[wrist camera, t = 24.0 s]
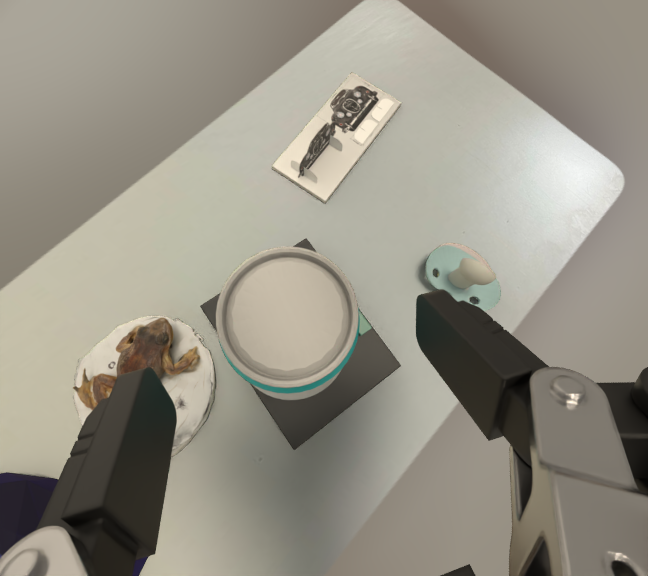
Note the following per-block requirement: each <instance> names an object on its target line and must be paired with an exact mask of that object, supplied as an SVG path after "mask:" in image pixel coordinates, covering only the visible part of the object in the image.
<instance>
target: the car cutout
mask: <svg viewBox="0 0 648 576" xmlns="http://www.w3.org/2000/svg"><path fill="white" fill-rule="evenodd" d="M401 103H402V102H400V101H398V100H397V99H395V98H394V97H392V96H390V95H389V94H387V93H385V92H384V91H382V90H380V89H379V88H377V87H376V86H374V85H372V84H371V83H369V82H367V81H366V80H364V79H363V78H361V77H359V76H358V75H356V74H354V73H353V72H351V73H350V75H349V76H348V77H347V78H346V79H345V81H344V82H343V83H342V84H341V85H340V86H339V88H338V89H337V90H336V91H335V92H334V93H333V95H332V96H331V97H330V98H329V99H328V100H327V102H326V103H325V104H324V105H323V106H322V107H321V109H320V110H319V111H318V112H317V113H316V114H315V116H314V117H313V118H312V119H311V120H310V121H309V123H308V124H307V125H306V126H305V127H304V128H303V130H302V131H301V132H300V133H299V134H298V136H297V137H296V138H295V139H294V140H293V141H292V143H291V144H290V145H289V146H288V147H287V148H286V150H285V151H284V152H283V153H282V154H281V155H280V157H279V158H278V159H277V160H276V161H275V162H274V164H273V165H272V169H273V170H275V171H277V172H278V173H280V174H281V175H283V176H284V177H286V178H287V179H289V180H290V181H292V182H293V183H295V184H296V185H298V186H299V187H301V188H302V189H304V190H305V191H307V192H308V193H310V194H312V195H313V196H315V197H316V198H318V199H319V200H321V201H322V202H324V203H326V202H327V201H328V199H329V198H330V197H331V195H332V194H333V193H334V192H335V190H336V189H337V188H338V186H339V185H340V184H341V182H342V181H343V180H344V179H345V177H346V176H347V175H348V173H349V172H350V171H351V169H352V168H353V167H354V166H355V164H356V163H357V162H358V160H359V159H360V158H361V156H362V155H363V154H364V153H365V151H366V150H367V149H368V147H369V146H370V145H371V143H372V142H373V141H374V140H375V138H376V137H377V136H378V134H379V133H380V132H381V130H382V129H383V128H384V127H385V125H386V124H387V123H388V121H389V120H390V119H391V117H392V116H393V115H394V114H395V112H396V111H397V110H398V108H399V107H400V106H401Z"/></svg>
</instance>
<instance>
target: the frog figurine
mask: <svg viewBox="0 0 648 576" xmlns="http://www.w3.org/2000/svg"><path fill="white" fill-rule="evenodd" d="M194 334H197V333H195V332H193V328H191V327H190V326H188V325H186V324H184V323H183V322H182V321H181V320H179V319H175V321H173V320H172V319H170V318H168V317H165V316H145V317H142V318H139V319H138V318H137V319H135V320H132V321H131V322H128V323H125V324H123V325H120V326H117V327H116V328H115V329H114V330H113V331H112V332H111V333H110V334H109V335H108V336H107V337H106V338H105V339H104V340H102V341H101V342H99V343H97V344H96V345H95V346H94V348H93V349H92V350H91V351H90V352H89V353H88V354H86V355H85V356H84V357H82V358H81V359H79V360H78V366H77V368H76V373H75V378H74V380H75V386H74V387H73V389H75V391H74V395H73V399H74V404H75V407H76V410H77V411H78V414H79V419H80V421H81V425H82V426H83V424H84V422H85V420H86V418H87V416H88V415H89V414H90V413H91V412H92V410H93V409H94V408H95V407H96V406H97V404H98V403H99V402H100V401H101V400H102V399H105V398H109V396H110V393H111V391H112V388H113V386H114V383H115V381H116V379H117V377H118V376H119V375H121V374H125V373H129V372H132V371H136V370H140V369H143V368H147V367H150V368H152V369H153V370H154V371H155V373H156V374H157V376H158V378H159V379H160V381H161V382H162V384H163V386H164V387H165V389H166V391H167V392H168V394H169V396H170V397H171V399H172V401H173V402H174V405H175V408H176V414H177V424H176V430H175V436H174V442H173V448H172V454H171V457H173V456H175V455H176V454H178V453H179V452H180V451H181V450H182V449H183V448H184V447H185V446H186V445H187V444H189V442H190V441H191V440H192V438H193V437H194V435H195V434H196V433H197V432H198V430H199V429H200V427H201V426H202V425H203V424H204V423H205V421H206V420H207V418H208V415H209V411H210V408H211V405H212V403H213V401H214V392H215V387H216V380H215V371H214V365H213V361H212V358H211V356H210V352H209V350H208V349H206V348H205V347H204V345H203V344H202V343H201V341H200V340H199V339H203V338H202V337H200V336H199V335H198V334H197V335H198V336H197V337H196V336H195V335H194Z"/></svg>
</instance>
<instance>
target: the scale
mask: <svg viewBox="0 0 648 576" xmlns="http://www.w3.org/2000/svg"><path fill="white" fill-rule="evenodd" d="M293 247H300V248H304V249H308V250H311V251H314V252H316V251H315V249H314V248H313V247H312V245H311V244H310V242H309V241H308V240H307V239H304V240H303V241H301V242H299V243H298V244H296V245H295V246H293ZM316 253H317V252H316ZM219 296H220V294H218V295H217V296H215V297H213V298H212V299H210V300H209V301H207V302H206V303H204V304H203V305H201V306H200V307H201V308H202V310H203V312H204V313H205V315H206V316H207V318H208V319H209V321H210V322H211V324H212V325H213V327H214V328H215V330H216V331H217V328H216V309H217V303H218V299H219ZM359 317H360V326H359V334H358V339H357V343H356V345H355V348H354V351H353V353H352V355H351V356H350V358H349V360H348V362H347V363H346V364H345V365H344V367H343V368H342V369H341V370H340V371H339V372H338V373H337V374H336V375H335V376H334V377H333V378H332V379H330V380H329V381H327V382H325V383H324V384H322V385H320V386H318V387H316V388H314V389H311V390H307V391H304V392H300V393H289V394H287V393H275V392H271V391H267V390H264V389H261V388H259V387H257V386H254V385H253V384H251V383H250V384H251V385H252V387H253V388H254V390H255V391H256V393H257V394H258V396H259V397H260V399H261V401H262V402H263V404H264V405H265V407H266V408H267V410H268V411H269V413H270V414H271V416H272V417H273V419H274V420H275V422H276V424H277V425H278V427H279V428H280V430H281V431H282V433H283V434H284V436H285V437H286V439H287V440H288V442H289V443H290V445H291V447H292V448H293V450H295V449H296V448H298V447H299V446H300V445H301V444H303V443H304V442H305V441H307V440H308V439H309V438H310V437H312V436H313V435H314V434H315V433H317V432H318V431H319V430H320V429H322V428H323V427H324V426H326V425H327V424H328V423H329V422H331V421H332V420H333V419H334V418H336V417H337V416H338V415H339V414H341V413H342V412H343V411H344V410H346V409H347V408H348V407H350V406H351V405H352V404H353V403H355V402H356V401H357V400H358V399H360V398H361V397H362V396H363V395H365V394H366V393H367V392H369V391H370V390H371V389H372V388H374V387H375V386H376V385H377V384H379V383H380V382H381V381H382V380H384V379H385V378H386V377H388V376H389V375H390V374H391V373H393V372H394V371H395V370H396V369H398V368H399V367H400V366H401V365H400V364H399V362H398V361H397V360H396V358H395V357H394V356H393V354H392V353H391V351H390V350H389V349H388V347H387V346H386V345H385V343H384V342H383V341H382V339H381V338H380V337H379V335H378V334H377V333H376V331H375V330H374V329H373V327H372V326H371V325H370V323H369V322H368V321H367V319H366V318H365V316H364V315H363V314H362V312H361V311H360V310H359Z"/></svg>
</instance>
